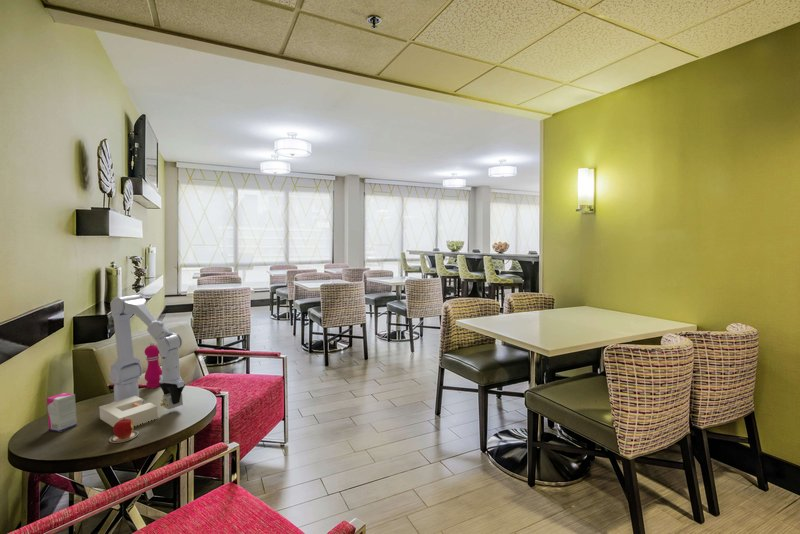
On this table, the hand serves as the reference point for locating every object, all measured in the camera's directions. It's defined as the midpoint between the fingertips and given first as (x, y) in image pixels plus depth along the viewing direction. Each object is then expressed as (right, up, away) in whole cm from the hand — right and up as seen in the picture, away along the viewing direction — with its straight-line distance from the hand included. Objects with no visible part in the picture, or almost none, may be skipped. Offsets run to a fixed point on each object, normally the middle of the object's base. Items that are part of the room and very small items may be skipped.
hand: (172, 401), depth 152 cm
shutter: (-12, -4, -3) cm, 13 cm away
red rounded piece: (-5, -6, -19) cm, 21 cm away
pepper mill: (-24, -2, +28) cm, 37 cm away
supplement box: (-32, -6, -11) cm, 35 cm away
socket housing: (-13, -5, -5) cm, 15 cm away
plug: (0, -2, 0) cm, 2 cm away
